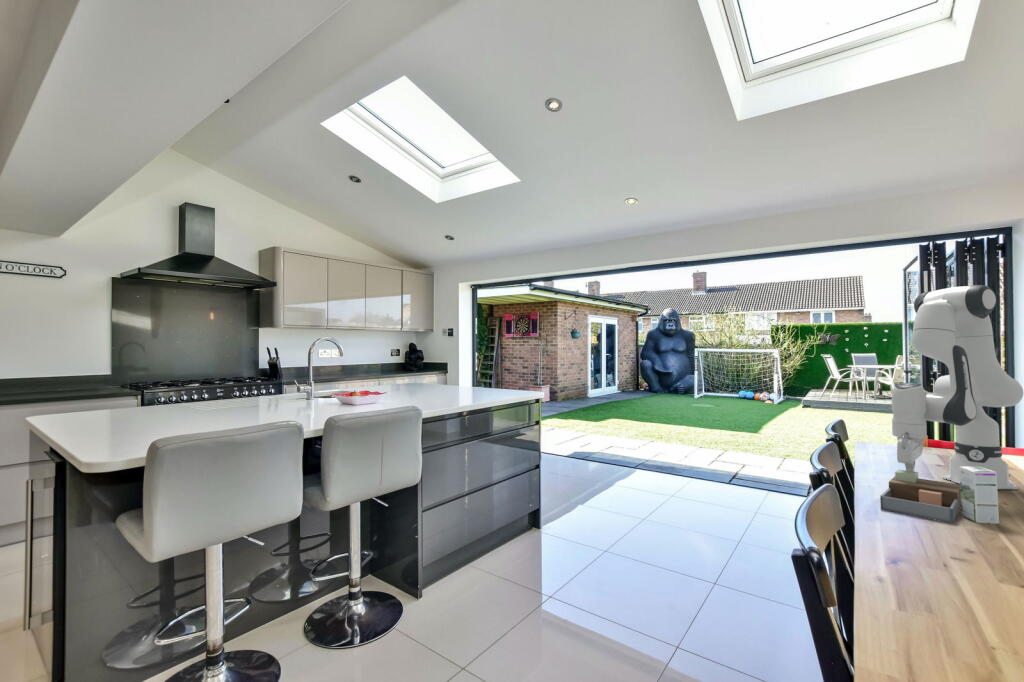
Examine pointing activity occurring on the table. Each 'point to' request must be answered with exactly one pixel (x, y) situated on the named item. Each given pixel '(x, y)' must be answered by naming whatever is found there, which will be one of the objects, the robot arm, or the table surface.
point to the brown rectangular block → (912, 489)
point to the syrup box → (979, 494)
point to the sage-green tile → (906, 476)
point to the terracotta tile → (930, 497)
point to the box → (918, 508)
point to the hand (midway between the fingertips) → (910, 472)
